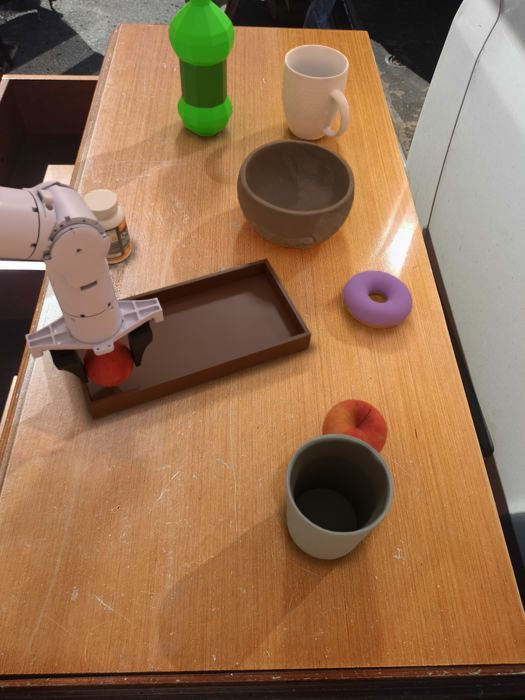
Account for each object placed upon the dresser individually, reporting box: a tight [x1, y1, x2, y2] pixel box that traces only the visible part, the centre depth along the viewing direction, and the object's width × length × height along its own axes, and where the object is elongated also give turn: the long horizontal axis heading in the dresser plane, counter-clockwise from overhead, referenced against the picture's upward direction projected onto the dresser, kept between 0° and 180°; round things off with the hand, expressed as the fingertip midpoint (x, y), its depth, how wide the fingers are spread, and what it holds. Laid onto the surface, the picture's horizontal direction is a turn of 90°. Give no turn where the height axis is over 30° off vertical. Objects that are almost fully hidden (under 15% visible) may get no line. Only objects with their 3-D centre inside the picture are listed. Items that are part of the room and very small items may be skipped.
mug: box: [281, 44, 351, 141], centre depth 98 cm, size 15×11×13 cm
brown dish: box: [60, 257, 312, 420], centre depth 74 cm, size 30×15×3 cm, turn 113°
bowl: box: [236, 139, 356, 250], centre depth 85 cm, size 17×18×10 cm
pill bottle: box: [82, 188, 132, 264], centre depth 80 cm, size 6×6×10 cm
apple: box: [321, 399, 388, 454], centre depth 64 cm, size 7×7×8 cm
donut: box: [342, 269, 413, 329], centre depth 79 cm, size 10×9×5 cm
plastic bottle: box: [168, 0, 236, 137], centre depth 93 cm, size 10×10×25 cm
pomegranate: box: [83, 340, 134, 387], centre depth 67 cm, size 6×6×8 cm
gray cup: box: [284, 434, 395, 560], centre depth 57 cm, size 10×10×12 cm
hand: (110, 368), depth 68 cm, fingers closed on pomegranate, 6 cm apart
